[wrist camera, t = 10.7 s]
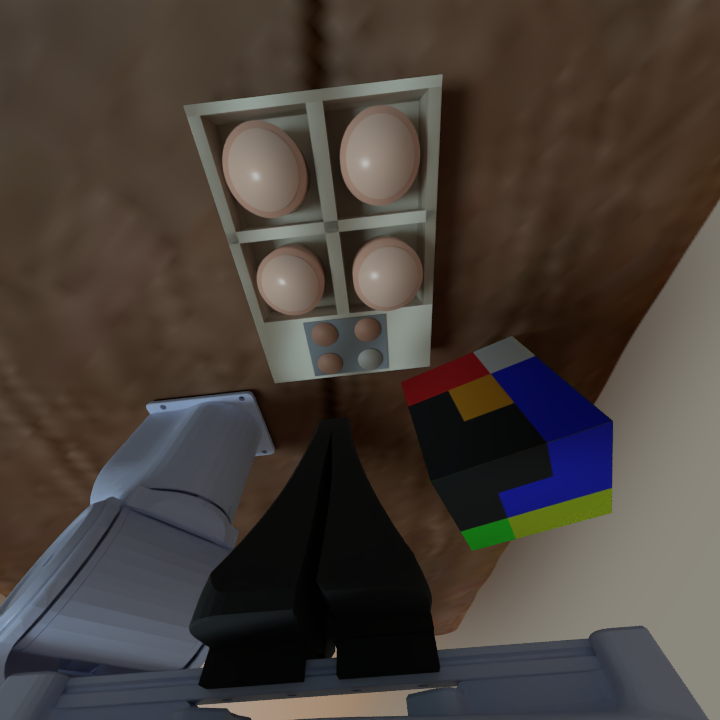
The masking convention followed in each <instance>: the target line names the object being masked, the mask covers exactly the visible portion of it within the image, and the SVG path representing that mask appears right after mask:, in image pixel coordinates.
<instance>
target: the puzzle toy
mask: <svg viewBox="0 0 720 720" xmlns="http://www.w3.org/2000/svg"><path fill="white" fill-rule="evenodd" d="M401 384H402V387H403V390H404V394H405V397H406V400H407V404H408V407H409V410H410V414H411V417H412V420H413V424H414V427H415V430H416V434H417V437H418V440H419V444H420V447H421V450H422V454H423V457H424V460H425V463H426V467H427V470H428V473H429V477H430V480H431V483H432V484H433V486H434V488H435V489H436V491H437V493H438V494H439V496H440V498H441V499H442V501H443V503H444V504H445V506H446V508H447V509H448V511H449V513H450V514H451V516H452V518H453V519H454V521H455V523H456V524H457V526H458V528H459V529H460V531H461V533H462V534H463V536H464V538H465V539H466V541H467V543H468V544H469V546H470V548H471V549H472V551H473V550H477V549H480V548H484V547H488V546H491V545H495V544H499V543H502V542H506V541H510V540H513V539H517V538H521V537H525V536H528V535H532V534H536V533H539V532H543V531H547V530H550V529H554V528H558V527H561V526H565V525H568V524H572V523H576V522H580V521H583V520H587V519H591V518H594V517H598V516H602V515H605V514H609V513H612V452H613V450H612V448H613V446H612V445H613V421H612V420H611V419H610V418H609V417H608V416H606V415H605V414H604V413H603V412H601V411H600V410H599V409H598V408H597V407H596V406H595V405H593V404H592V403H591V402H590V401H589V400H587V399H586V398H585V397H584V396H583V395H581V394H580V393H579V392H578V391H577V390H576V389H574V388H573V387H572V386H571V385H570V384H568V383H567V382H566V381H565V380H564V379H562V378H561V377H560V376H559V375H558V374H557V373H555V372H554V371H553V370H552V369H551V368H549V367H548V366H547V365H546V364H545V363H543V362H542V361H541V360H540V359H539V358H538V357H536V356H535V355H534V354H533V353H532V352H530V351H529V350H528V349H527V348H526V347H524V346H523V345H522V344H521V343H520V342H519V341H517V340H516V339H515V338H514V337H513V336H510V337H508V338H506V339H503V340H501V341H499V342H496V343H494V344H491V345H489V346H487V347H484V348H482V349H480V350H477V351H475V352H472V353H470V354H468V355H465V356H463V357H460V358H458V359H456V360H453V361H451V362H449V363H446V364H444V365H441V366H439V367H437V368H434V369H432V370H429V371H427V372H425V373H422V374H420V375H418V376H415V377H413V378H410V379H408V380H406V381H403V382H401Z"/></svg>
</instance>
